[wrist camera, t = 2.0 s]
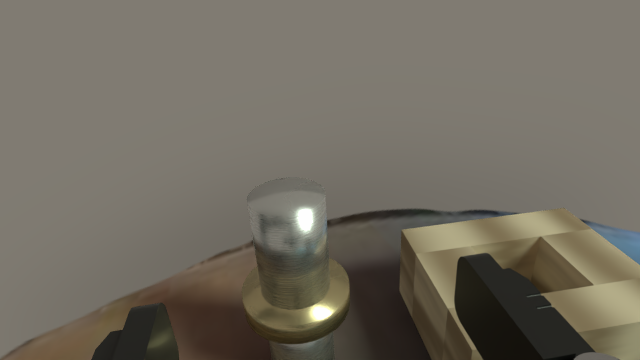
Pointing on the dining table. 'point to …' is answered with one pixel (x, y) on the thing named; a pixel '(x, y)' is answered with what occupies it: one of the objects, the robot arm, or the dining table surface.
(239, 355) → the dining table surface
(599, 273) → the block
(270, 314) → the pin
